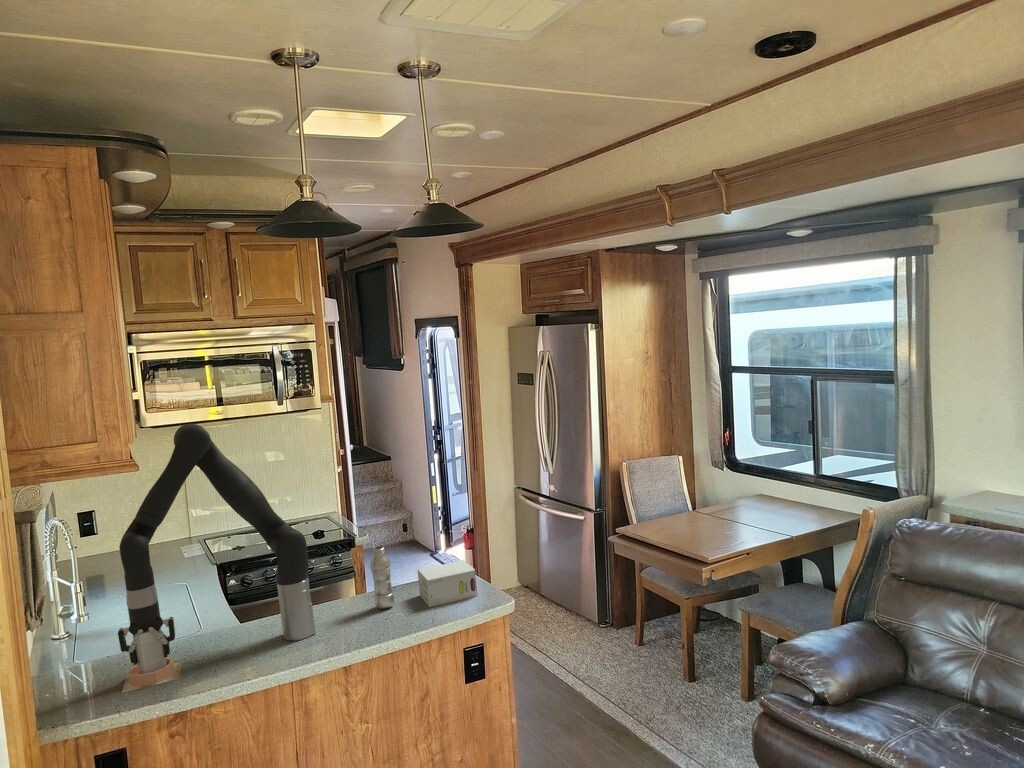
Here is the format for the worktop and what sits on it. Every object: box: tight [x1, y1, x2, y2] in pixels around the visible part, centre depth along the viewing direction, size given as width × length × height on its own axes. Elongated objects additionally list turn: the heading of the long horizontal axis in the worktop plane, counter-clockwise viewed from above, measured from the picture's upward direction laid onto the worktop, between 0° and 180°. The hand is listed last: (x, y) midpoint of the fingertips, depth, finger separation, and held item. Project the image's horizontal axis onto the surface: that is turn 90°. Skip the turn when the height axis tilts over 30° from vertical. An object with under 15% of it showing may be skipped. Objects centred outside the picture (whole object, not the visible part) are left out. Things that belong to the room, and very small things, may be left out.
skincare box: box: [132, 627, 166, 674], centre depth 197 cm, size 6×4×12 cm
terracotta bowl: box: [128, 656, 175, 687], centre depth 197 cm, size 11×11×3 cm
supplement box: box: [417, 559, 479, 608], centre depth 238 cm, size 17×13×9 cm
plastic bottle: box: [369, 545, 396, 610], centre depth 233 cm, size 6×7×20 cm
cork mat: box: [121, 661, 182, 693], centre depth 197 cm, size 14×12×1 cm
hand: (151, 659), depth 197 cm, fingers closed on skincare box, 7 cm apart
